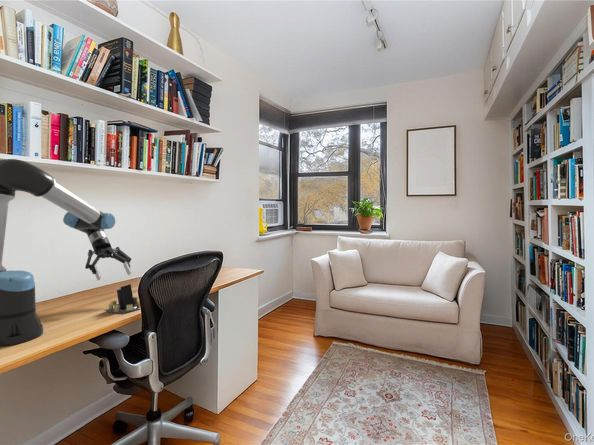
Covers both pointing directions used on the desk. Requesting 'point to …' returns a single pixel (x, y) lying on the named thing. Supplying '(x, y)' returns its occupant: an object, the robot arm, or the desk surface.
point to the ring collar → (129, 308)
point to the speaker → (125, 296)
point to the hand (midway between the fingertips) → (115, 276)
